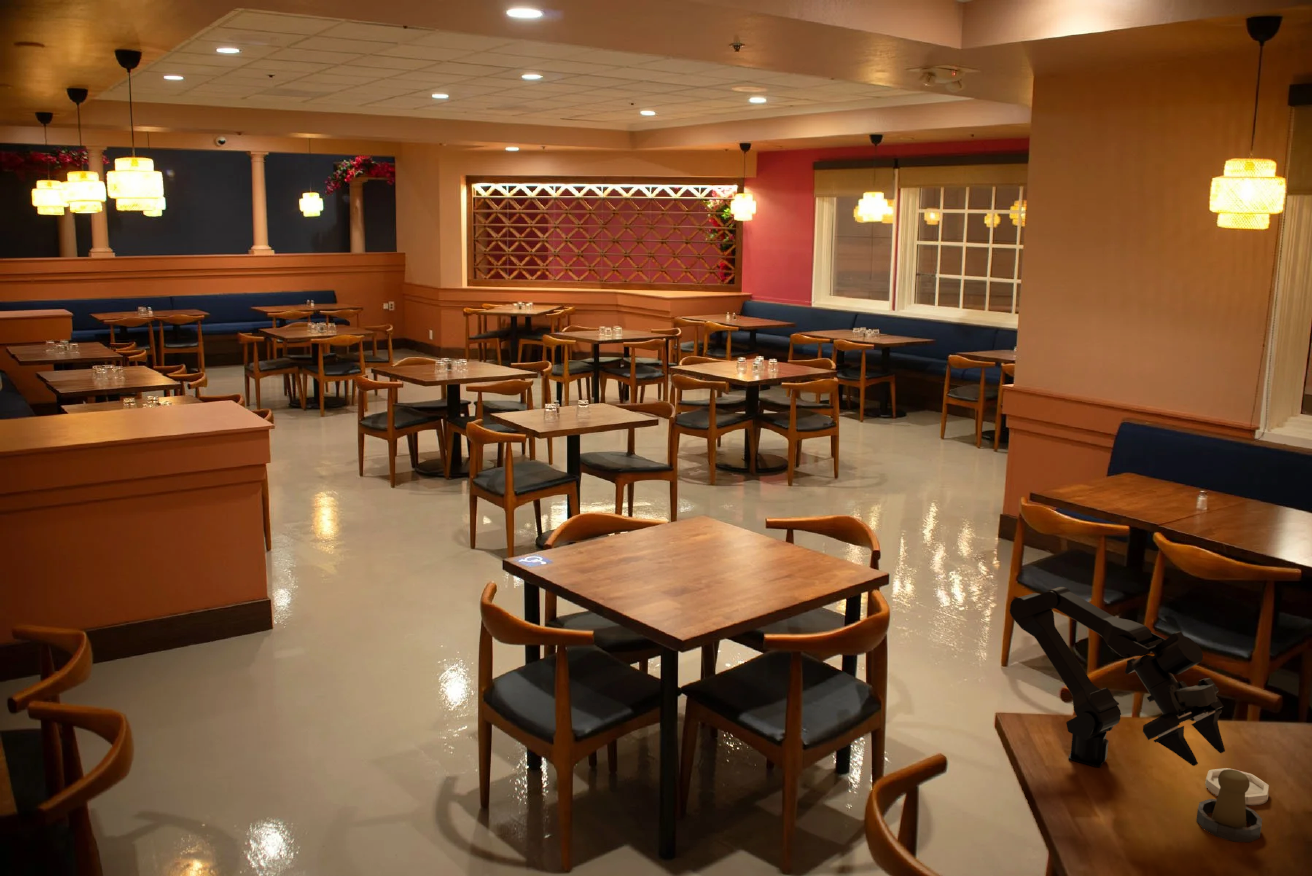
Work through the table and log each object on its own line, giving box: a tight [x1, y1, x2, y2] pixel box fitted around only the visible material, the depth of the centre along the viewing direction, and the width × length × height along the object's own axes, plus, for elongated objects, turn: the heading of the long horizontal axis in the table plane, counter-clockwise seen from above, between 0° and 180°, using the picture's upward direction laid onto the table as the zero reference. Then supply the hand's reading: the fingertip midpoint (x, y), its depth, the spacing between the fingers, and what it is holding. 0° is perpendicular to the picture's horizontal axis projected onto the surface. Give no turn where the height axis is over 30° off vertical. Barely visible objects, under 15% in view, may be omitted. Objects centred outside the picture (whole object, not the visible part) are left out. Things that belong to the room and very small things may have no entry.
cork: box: [1211, 768, 1250, 828], centre depth 198 cm, size 6×6×11 cm
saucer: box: [1205, 767, 1270, 806], centre depth 212 cm, size 11×11×2 cm
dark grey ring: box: [1195, 798, 1263, 843], centre depth 199 cm, size 11×11×2 cm
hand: (1209, 758), depth 201 cm, fingers open, 9 cm apart
